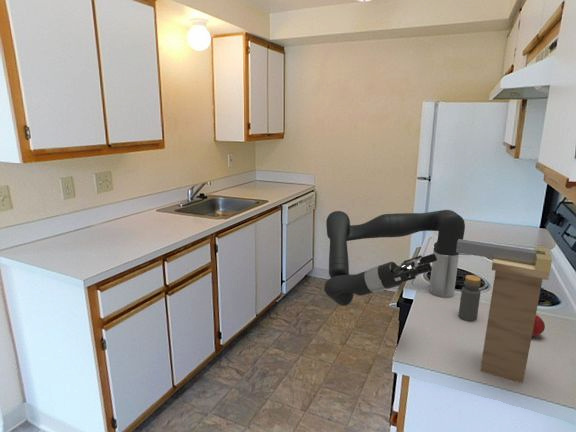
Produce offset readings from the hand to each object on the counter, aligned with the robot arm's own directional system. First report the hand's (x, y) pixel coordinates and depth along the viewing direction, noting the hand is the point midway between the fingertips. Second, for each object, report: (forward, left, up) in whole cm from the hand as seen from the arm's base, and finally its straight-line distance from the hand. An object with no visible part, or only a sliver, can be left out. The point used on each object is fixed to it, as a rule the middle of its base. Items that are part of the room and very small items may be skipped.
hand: (433, 261), depth 107 cm
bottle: (-26, +10, -28) cm, 39 cm away
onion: (-24, +29, -28) cm, 47 cm away
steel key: (0, +16, +4) cm, 16 cm away
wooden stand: (0, +21, -28) cm, 35 cm away
